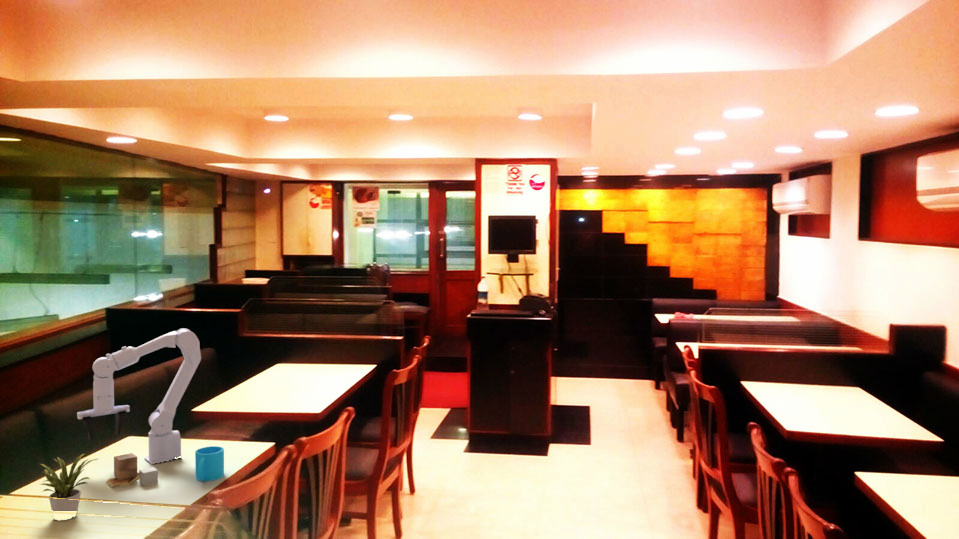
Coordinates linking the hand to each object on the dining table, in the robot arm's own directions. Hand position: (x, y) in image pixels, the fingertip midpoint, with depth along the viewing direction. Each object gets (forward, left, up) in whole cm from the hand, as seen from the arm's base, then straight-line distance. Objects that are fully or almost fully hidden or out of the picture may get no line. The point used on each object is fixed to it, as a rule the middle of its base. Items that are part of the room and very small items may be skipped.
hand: (104, 437), depth 209 cm
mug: (-21, +31, -10) cm, 39 cm away
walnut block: (-2, +16, -9) cm, 19 cm away
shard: (-1, +16, -11) cm, 19 cm away
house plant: (+16, +35, -10) cm, 40 cm away
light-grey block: (-6, +23, -10) cm, 26 cm away
